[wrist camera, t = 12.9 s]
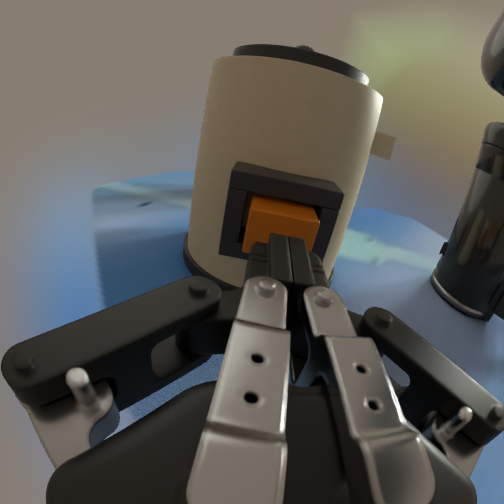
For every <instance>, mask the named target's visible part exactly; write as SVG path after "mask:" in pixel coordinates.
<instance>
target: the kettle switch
mask: <svg viewBox="0 0 504 504" xmlns="http://www.w3.org/2000/svg"><path fill="white" fill-rule="evenodd" d="M319 225H320V222H319V220H318V217H317V215H316V213H315V210H314V208H313V207H312V206H309V205H304V204H299V203H295V202H290V201H285V200H281V199H276V198H271V197H266V196H261V195H256V194H253V196H252V201H251V206H250V211H249V216H248V221H247V226H246V231H245V237H244V242H243V248H242V252H244V253H249V252H250V247H251V245H253V244H254V243H255V242H256V241H258V242H263V243H268V239H269V235H270V233H275V234H280V235H285V236H287V237H288V236H291V237H296V238H300V239H305V241H306V245H307V249H308V251H309V252H311V250H312V247H313V244H314V241H315V238H316V234H317V231H318V228H319Z"/></svg>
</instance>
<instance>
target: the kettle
mask: <svg viewBox="0 0 504 504" xmlns="http://www.w3.org/2000/svg"><path fill="white" fill-rule="evenodd" d="M368 83H369V78H368V77H367V76H366V75H365V74H364V73H363V72H361V71H360V70H358V69H357V68H355V67H353V66H351V65H349V64H347V63H345V62H343V61H340V60H338V59H335V58H333V57H329V56H327V55H324V54H321V53H317V52H314V50H313V49H312V48H310V47H308V46H305V45H301V46H297V47H289V46H282V45H271V44H252V45H244V46H240V47H237V48H236V49H235V50H234V53H233V56H227V57H221V58H218V59H215V60H214V63H213V67H212V72H211V77H210V83H209V88H208V93H207V99H206V104H205V110H204V116H203V122H202V129H201V135H200V142H199V148H198V156H197V163H196V170H195V178H194V186H193V194H192V203H191V212H190V222H189V232H188V234H187V235H186V238H185V240H184V250H183V255H184V260H185V263H186V265H187V267H188V269H189V270H190V272H191V273H192V274H193V275H194V276H201V277H206V278H209V279H211V280H213V281H215V282H216V283H217V284H218V285H219V286H220V288H221V291H230V290H235V289H238V288H240V287H242V286H243V283H244V276H245V271H246V266H247V262H248V257H249V253H244V252H242V248H243V242H244V237H245V231H246V226H247V221H248V216H249V211H250V206H251V201H252V196H253V194H256V195H261V196H266V197H271V198H276V199H281V200H285V201H290V202H295V203H299V204H304V205H309V206H312V207H313V208H314V210H315V213H316V215H317V217H318V220H319V222H320V225H319V228H318V231H317V234H316V238H315V241H314V244H313V247H312V250H311V252H314V253H315V254H316V255H317V256H318V257H319V258H320V259H321V261H322V264H323V268H324V271H325V274H326V277H327V281H328V284H329V286H330V283H331V281H332V278H333V275H334V263H335V260H336V258H337V255H338V252H339V249H340V246H341V244H342V241H343V238H344V235H345V232H346V229H347V226H348V223H349V220H350V217H351V214H352V211H353V208H354V205H355V202H356V199H357V195H358V192H359V189H360V186H361V182H362V179H363V175H364V172H365V169H366V165H367V161H368V158H369V154H371V155H374V156H377V157H380V158H383V159H386V160H390V158H391V155H392V151H393V147H394V143H395V140H396V138H395V137H392V136H390V135H387V134H385V133H382V132H379V131H376V127H377V123H378V119H379V114H380V111H381V106H382V102H383V98H382V96H381V95H380V94H379V93H378V92H376V91H375V90H373V89H372V88H370V87H368Z"/></svg>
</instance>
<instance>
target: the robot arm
mask: <svg viewBox="0 0 504 504" xmlns="http://www.w3.org/2000/svg"><path fill="white" fill-rule="evenodd" d="M481 69H482V74H483V76H484V79H485V81H486V82H487V83H488V85H489V86H490V87H491V88H492V89H494V90H495V91H496V92H497V93H499V94H500V95H502V96H504V11H503V12H502V13H501V15H500V16H499V18H498V20H497V21H496V22H495V24H494V25H493V27H492V29H491V30H490V32H489V34H488V36H487V39H486V41H485V44H484V47H483V51H482V56H481ZM442 253H443V254H442ZM439 254H442V256H441V258H440V260H439V262H438V264H437V267H436V269H434V271H433V273H432V275H431V281H432V284H433V286H434V287H435V289H436V290H437V291H438V292H439V294H440V295H441V296H442V297H443V298H444V299H445V300H447V301H448V302H449V303H450V304H451V305H453V306H454V307H456V308H457V309H459V310H460V311H462V312H464V313H466V314H468V315H470V316H473V317H477V318H482V319H484V320H486V321H487V322H489V320H490V319H491V317H492V315H493V314H496V315H497V316H499V317H500V318H502V319H503V320H504V123H503V122H491V123H489V124H487V126H486V128H485V130H484V134H483V139H482V144H481V147H480V151H479V155H478V159H477V162H476V166H475V169H474V172H473V176H472V179H471V182H470V185H469V188H468V192H467V194H466V197H465V200H464V203H463V205H462V208H461V211H460V214H459V216H458V219H457V221H456V224H455V226H454V229H453V231H452V233H451V236H450V238H449V240H448V242H445V243H444V244H443V246H442V249H441V251H440V253H439ZM213 354H225V355H224V358H223V362H222V366H221V369H220V373H219V376H218V380H217V381H210V382H206V383H202V384H199V385H196V386H193V387H191V388H189V389H186V390H184V391H183V392H181V393H179V394H178V395H176V396H175V397H173V398H172V399H170V400H169V401H167V402H166V403H164V404H163V405H161V406H160V407H158V408H157V409H155V410H154V411H152V412H150V413H149V414H147V415H146V416H144V417H142V418H141V419H139V420H138V421H136V422H134V423H133V424H131V425H129V426H128V427H126V428H125V429H123V430H121V431H120V432H118V433H116V434H114V435H113V436H111V437H109V438H107V439H106V440H104V439H105V438H106V437H107V436H109V435H110V434H111V433H113V432H114V431H115V429H116V428H117V427H118V425H119V421H120V414H119V412H120V411H122V410H124V409H126V408H127V407H129V406H131V405H133V404H135V403H137V402H138V401H140V400H142V399H144V398H146V397H147V396H149V395H151V394H153V393H155V392H156V391H158V390H160V389H162V388H163V387H165V386H167V385H168V384H170V383H172V382H174V381H175V380H177V379H179V378H180V377H182V376H184V375H185V374H187V373H189V372H190V371H192V370H194V369H195V368H197V367H198V366H200V365H202V364H203V363H205V362H206V361H208V360H209V359H210V358H211V356H212V355H213ZM384 354H385V355H386V356H387V357H388V358H389V359H391V360H392V361H393V362H394V363H395V364H396V365H398V366H399V367H400V368H401V369H402V370H404V371H405V372H406V373H407V374H408V375H409V377H410V385H409V386H407V387H402V386H400V385H398V384H397V383H396V382H395V381H394V380H393V379H392V378H390V377H389V376H388V374H387V371H386V369H385V366H384V364H383V362H382V359H381V358H382V357H383V355H384ZM1 371H2V375H3V376H4V378H5V379H6V381H7V383H8V384H9V386H10V387H11V389H12V390H13V391H14V393H15V395H16V397H17V399H18V400H19V402H20V403H21V404H22V405H23V407H24V408H25V409H26V410H27V412H28V414H29V417H30V419H31V421H32V424H33V426H34V428H35V430H36V433H37V435H38V437H39V439H40V441H41V443H42V445H43V447H44V449H45V451H46V453H47V455H48V457H49V458H50V460H51V462H52V464H53V466H54V467H55V469H56V470H55V472H54V473H53V475H52V476H51V478H50V480H49V483H48V486H47V490H46V504H477V495H476V490H475V487H474V485H473V483H472V481H471V480H470V476H471V474H472V472H473V470H474V467H475V465H476V463H477V461H478V459H479V456H480V454H481V452H482V449H483V447H484V446H485V445H486V444H488V443H489V442H490V441H491V440H493V439H494V438H495V437H496V436H498V435H499V434H500V433H501V432H502V431H503V430H504V406H503V405H502V404H501V403H500V402H499V401H498V400H497V399H496V398H495V397H493V396H492V395H491V394H490V393H489V392H488V391H487V390H485V389H484V388H483V387H482V386H481V385H480V384H478V383H477V382H476V381H475V380H474V379H472V378H471V377H470V376H469V375H468V374H467V373H465V372H464V371H463V370H462V369H461V368H459V367H458V366H457V365H456V364H455V363H453V362H452V361H451V360H450V359H448V358H447V357H446V356H445V355H444V354H442V353H441V352H440V351H439V350H437V349H436V348H435V347H434V346H432V345H431V344H430V343H429V342H427V341H426V340H425V339H424V338H422V337H421V336H420V335H419V334H417V333H416V332H415V331H414V330H412V329H411V328H410V327H409V326H407V325H406V324H405V323H403V322H402V321H401V320H400V319H398V318H397V317H396V316H394V315H393V314H392V313H390V312H389V311H387V310H385V309H382V308H378V307H371V308H368V309H367V310H366V312H365V314H364V316H362V315H359V314H356V313H354V312H351V311H349V310H346V308H345V305H344V303H343V300H342V299H341V297H340V296H339V295H338V294H337V293H336V292H334V291H333V290H331V289H330V288H329V284H328V281H327V277H326V274H325V271H324V268H323V264H322V261H321V259H320V258H319V257H318V256H317V255H316V254H315V253H314V252H309V251H308V249H307V245H306V241H305V239H300V238H296V237H291V236H288V237H287V236H285V235H280V234H275V233H270V235H269V239H268V243H263V242H258V241H256V242H255V243H254V244H253V245H251V247H250V252H249V257H248V262H247V266H246V271H245V276H244V283H243V286H242V287H240V288H238V289H235V290H230V291H221V288H220V286H219V285H218V284H217V283H216V282H215V281H213V280H211V279H209V278H206V277H201V276H190V277H186V278H183V279H180V280H178V281H175V282H173V283H170V284H168V285H165V286H162V287H160V288H157V289H155V290H152V291H150V292H147V293H145V294H142V295H140V296H137V297H134V298H132V299H129V300H127V301H124V302H122V303H119V304H117V305H114V306H112V307H109V308H106V309H104V310H101V311H99V312H97V313H94V314H91V315H89V316H86V317H84V318H81V319H79V320H76V321H74V322H71V323H68V324H66V325H64V326H61V327H58V328H56V329H53V330H51V331H48V332H46V333H43V334H40V335H38V336H35V337H33V338H30V339H28V340H25V341H23V342H20V343H18V344H16V345H14V346H12V347H11V348H10V349H9V350H8V351H7V352H6V353H5V355H4V357H3V359H2V363H1Z"/></svg>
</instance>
